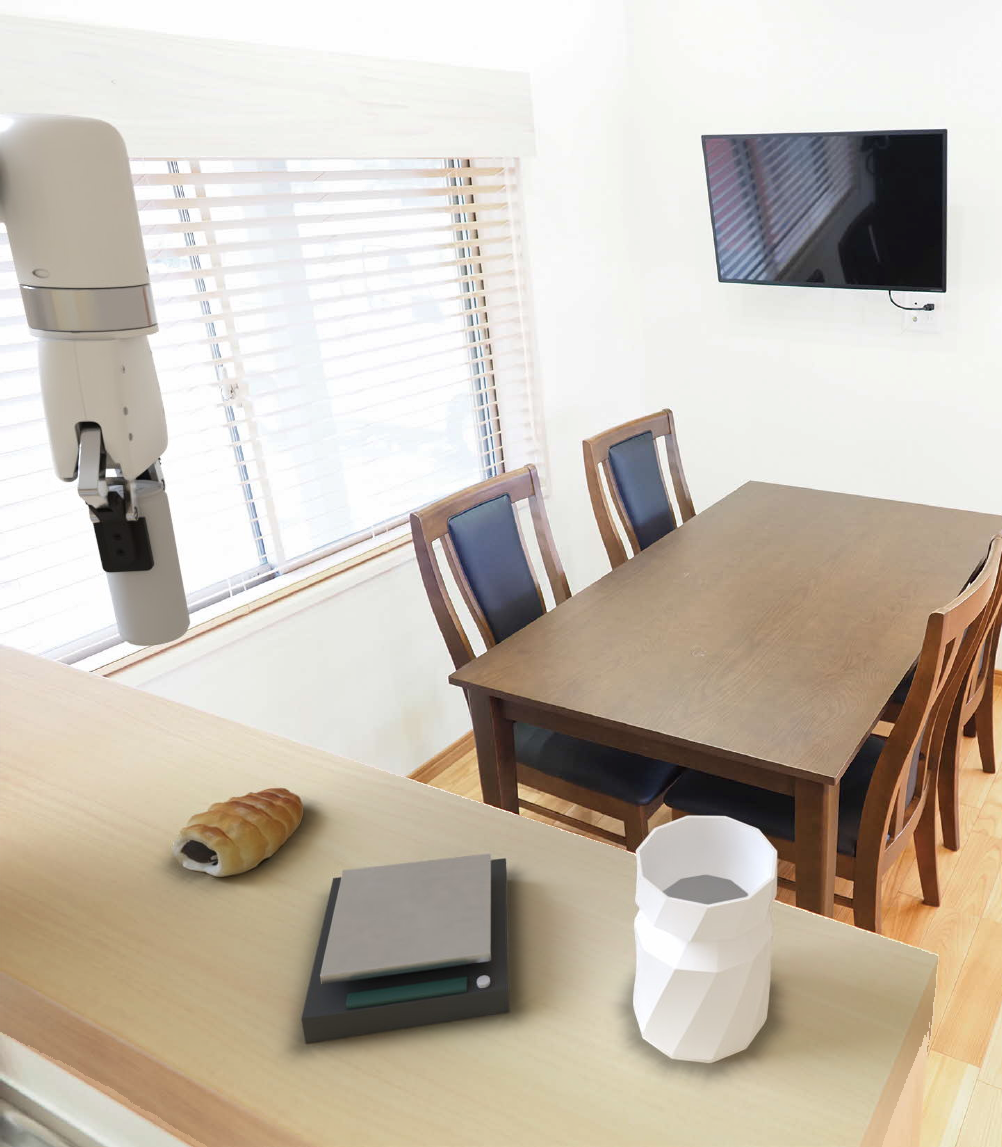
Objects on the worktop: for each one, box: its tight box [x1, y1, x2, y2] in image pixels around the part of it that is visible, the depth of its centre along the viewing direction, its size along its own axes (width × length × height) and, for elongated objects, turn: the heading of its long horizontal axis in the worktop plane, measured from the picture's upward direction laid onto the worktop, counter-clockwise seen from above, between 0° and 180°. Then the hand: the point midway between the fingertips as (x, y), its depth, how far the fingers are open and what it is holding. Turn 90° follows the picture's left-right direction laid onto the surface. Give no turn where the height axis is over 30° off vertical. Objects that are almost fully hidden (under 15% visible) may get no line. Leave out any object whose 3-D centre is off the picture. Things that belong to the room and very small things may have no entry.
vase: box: [632, 815, 778, 1064], centre depth 61 cm, size 9×9×12 cm
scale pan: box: [320, 853, 492, 985], centre depth 65 cm, size 10×10×1 cm
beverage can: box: [105, 480, 191, 647], centre depth 74 cm, size 5×5×12 cm
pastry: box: [170, 787, 304, 878], centre depth 75 cm, size 9×7×4 cm
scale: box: [300, 857, 511, 1045], centre depth 66 cm, size 12×13×2 cm
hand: (140, 554), depth 74 cm, fingers closed on beverage can, 4 cm apart
